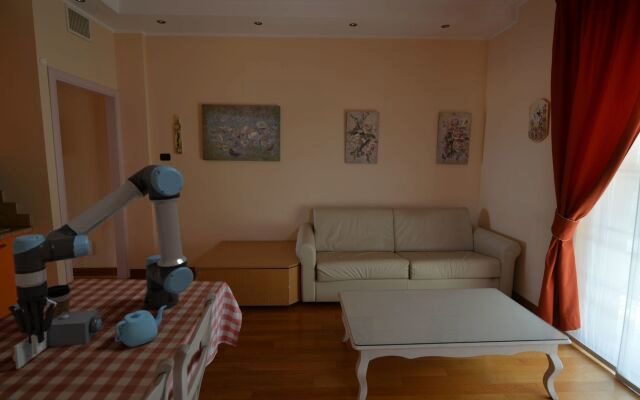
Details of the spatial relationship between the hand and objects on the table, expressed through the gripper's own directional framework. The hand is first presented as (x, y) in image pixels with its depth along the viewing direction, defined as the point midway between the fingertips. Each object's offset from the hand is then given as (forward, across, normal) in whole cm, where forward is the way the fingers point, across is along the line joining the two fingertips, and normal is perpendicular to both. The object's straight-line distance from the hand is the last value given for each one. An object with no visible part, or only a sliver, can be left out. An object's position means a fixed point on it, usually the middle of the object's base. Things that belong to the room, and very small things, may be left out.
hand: (37, 351), depth 106 cm
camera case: (+3, -6, -13) cm, 15 cm away
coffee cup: (+3, +8, -26) cm, 27 cm away
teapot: (+4, -29, -10) cm, 30 cm away
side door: (+3, +3, -2) cm, 4 cm away
